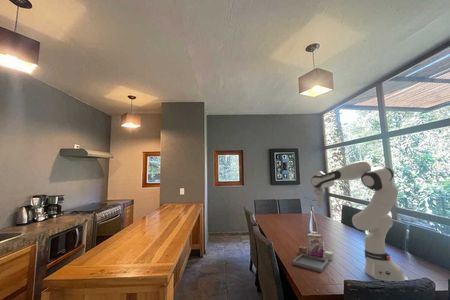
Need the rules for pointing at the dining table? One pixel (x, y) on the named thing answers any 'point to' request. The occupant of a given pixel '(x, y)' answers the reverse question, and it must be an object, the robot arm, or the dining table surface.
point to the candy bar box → (315, 245)
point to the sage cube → (328, 255)
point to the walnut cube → (302, 250)
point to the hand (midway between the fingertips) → (319, 207)
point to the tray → (311, 262)
